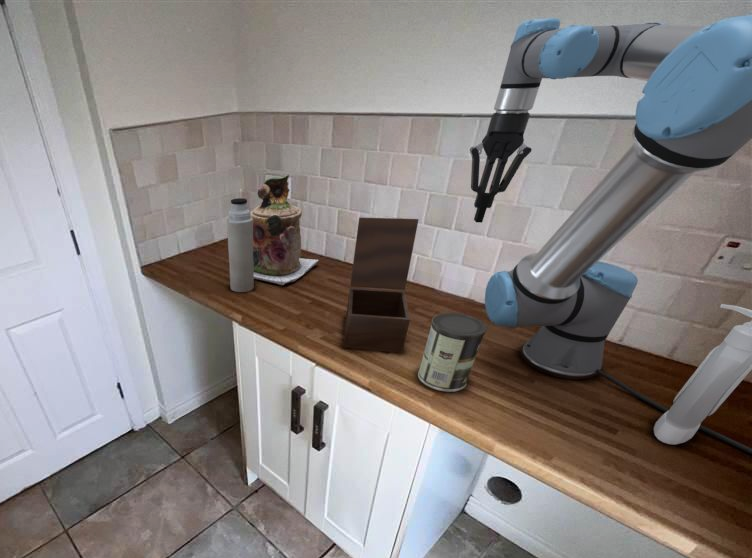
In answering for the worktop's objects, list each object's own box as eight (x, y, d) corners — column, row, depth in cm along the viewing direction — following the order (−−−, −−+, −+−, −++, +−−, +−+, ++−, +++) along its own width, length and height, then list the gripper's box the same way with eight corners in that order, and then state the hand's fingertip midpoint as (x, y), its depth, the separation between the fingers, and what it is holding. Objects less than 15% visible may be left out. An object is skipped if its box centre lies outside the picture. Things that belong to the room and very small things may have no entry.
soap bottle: (650, 404, 82) (733, 292, 68) (701, 425, 77) (803, 308, 62) (625, 430, 76) (709, 314, 62) (678, 454, 71) (784, 334, 57)
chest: (401, 353, 101) (410, 319, 95) (343, 347, 104) (348, 314, 98) (397, 322, 114) (404, 291, 108) (345, 318, 117) (349, 287, 111)
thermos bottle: (248, 281, 142) (246, 195, 125) (257, 289, 135) (256, 200, 119) (227, 285, 139) (222, 198, 123) (235, 293, 133) (231, 203, 117)
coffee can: (460, 367, 95) (479, 313, 86) (471, 394, 87) (493, 337, 78) (414, 364, 97) (428, 310, 88) (420, 389, 89) (437, 333, 80)
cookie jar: (264, 255, 163) (264, 166, 144) (319, 265, 152) (327, 170, 132) (228, 275, 147) (223, 178, 128) (288, 288, 135) (292, 184, 116)
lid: (418, 219, 100) (418, 218, 100) (359, 217, 103) (359, 217, 103) (405, 289, 108) (404, 289, 108) (350, 286, 111) (350, 285, 111)
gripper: (539, 109, 92) (502, 217, 106) (476, 111, 95) (448, 216, 109) (550, 112, 86) (509, 226, 100) (483, 113, 89) (453, 224, 103)
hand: (477, 220), depth 105 cm, fingers closed
